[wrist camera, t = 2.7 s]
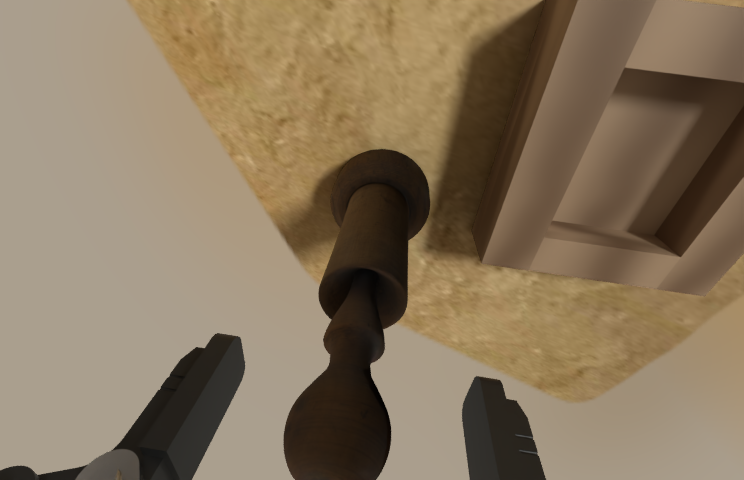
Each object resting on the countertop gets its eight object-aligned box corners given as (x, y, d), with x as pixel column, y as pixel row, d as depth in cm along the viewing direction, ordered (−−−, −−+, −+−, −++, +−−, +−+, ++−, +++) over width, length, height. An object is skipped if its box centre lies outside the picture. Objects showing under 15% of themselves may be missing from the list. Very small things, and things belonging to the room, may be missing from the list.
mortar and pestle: (348, 236, 25) (256, 531, 10) (325, 157, 22) (143, 420, 7) (433, 226, 24) (469, 544, 9) (423, 140, 21) (452, 417, 6)
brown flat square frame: (470, 227, 24) (481, 263, 21) (544, -2, 17) (582, -12, 13) (658, 255, 24) (704, 296, 20) (820, 32, 16) (943, 32, 13)
